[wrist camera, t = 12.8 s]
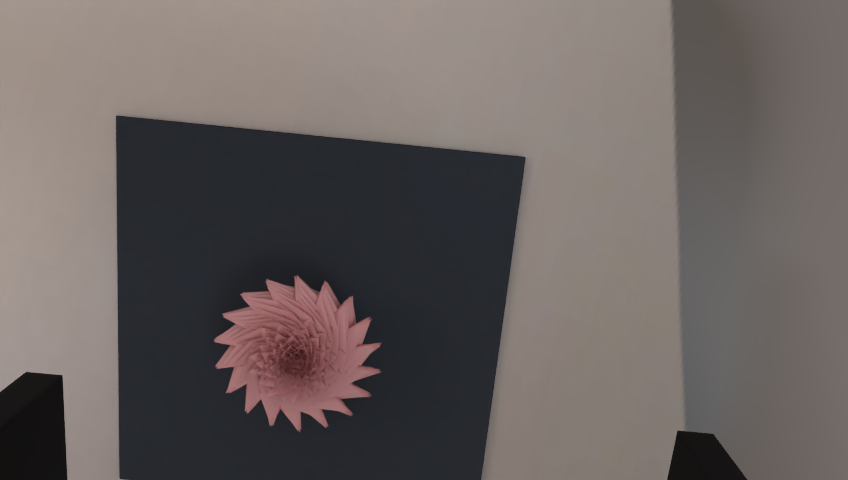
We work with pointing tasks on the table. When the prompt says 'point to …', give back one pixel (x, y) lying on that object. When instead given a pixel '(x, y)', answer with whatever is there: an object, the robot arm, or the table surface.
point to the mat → (314, 263)
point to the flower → (296, 351)
